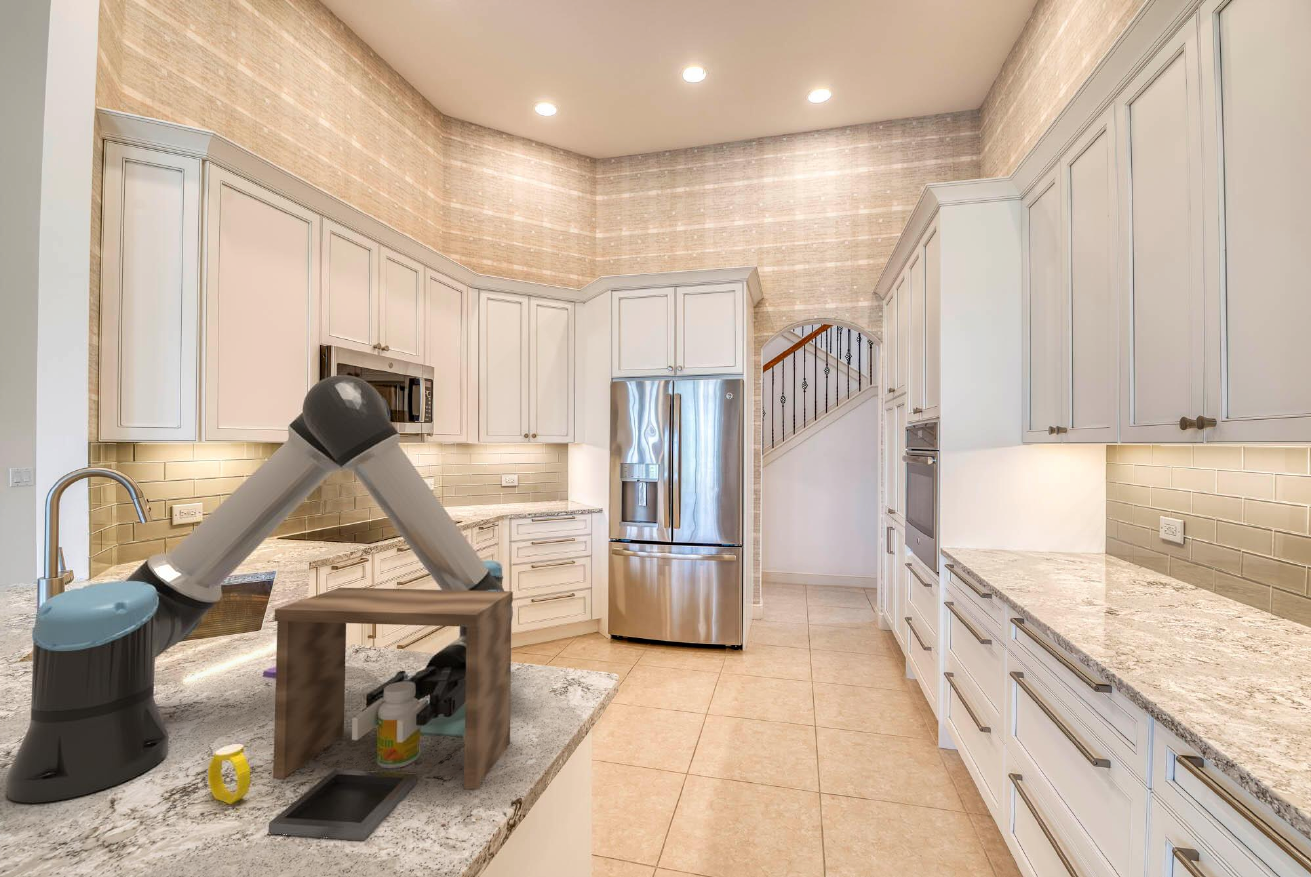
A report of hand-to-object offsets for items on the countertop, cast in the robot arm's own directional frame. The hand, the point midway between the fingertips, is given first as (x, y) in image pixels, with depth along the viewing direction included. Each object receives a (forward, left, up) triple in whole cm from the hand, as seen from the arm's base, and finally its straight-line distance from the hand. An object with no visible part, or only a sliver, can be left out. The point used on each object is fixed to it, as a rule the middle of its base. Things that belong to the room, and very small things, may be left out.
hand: (377, 730), depth 73 cm
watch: (-11, -12, -7) cm, 18 cm away
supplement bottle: (-3, +5, -6) cm, 8 cm away
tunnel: (-3, +5, -6) cm, 8 cm away
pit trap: (+3, -5, -6) cm, 8 cm away
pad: (-9, +16, -6) cm, 19 cm away
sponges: (-48, +12, -7) cm, 50 cm away
